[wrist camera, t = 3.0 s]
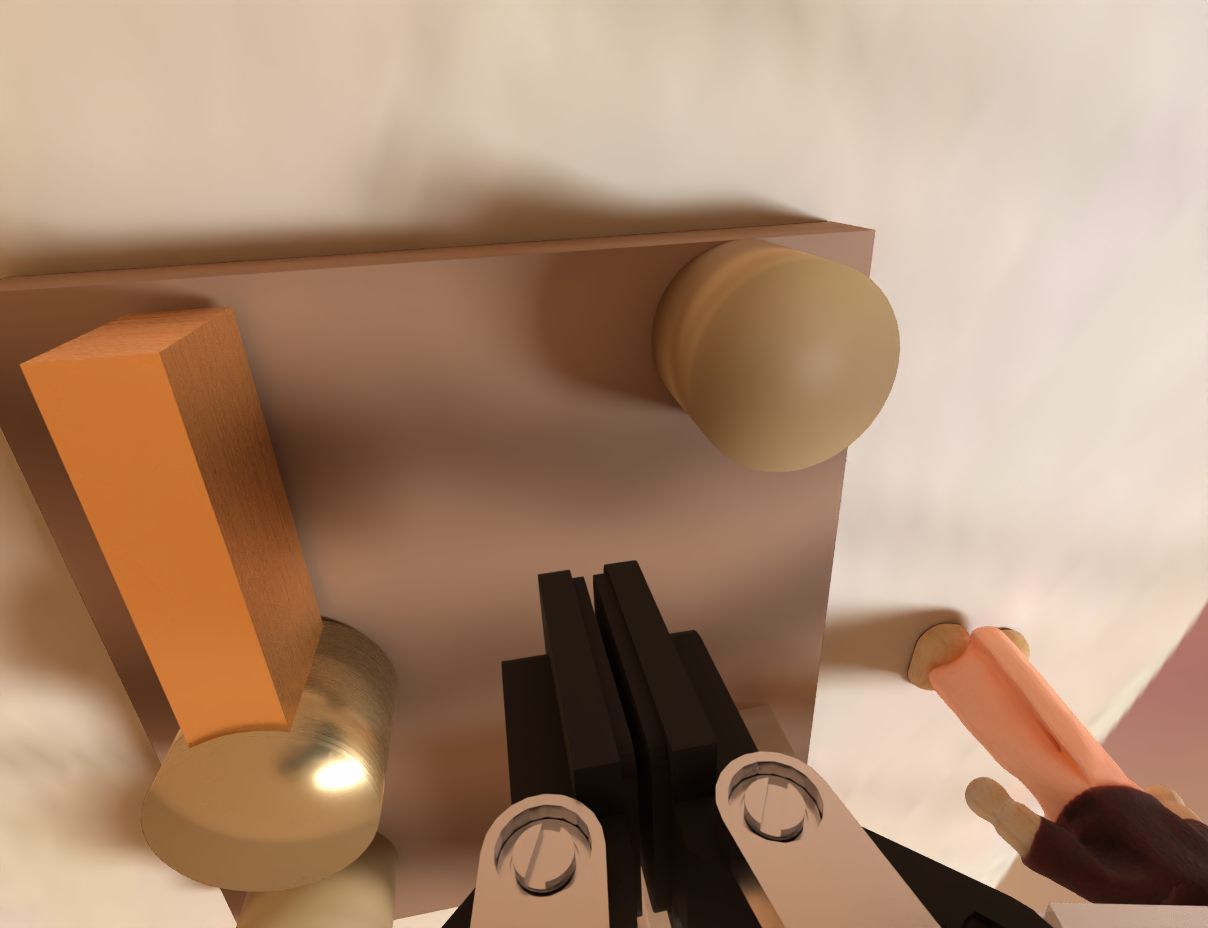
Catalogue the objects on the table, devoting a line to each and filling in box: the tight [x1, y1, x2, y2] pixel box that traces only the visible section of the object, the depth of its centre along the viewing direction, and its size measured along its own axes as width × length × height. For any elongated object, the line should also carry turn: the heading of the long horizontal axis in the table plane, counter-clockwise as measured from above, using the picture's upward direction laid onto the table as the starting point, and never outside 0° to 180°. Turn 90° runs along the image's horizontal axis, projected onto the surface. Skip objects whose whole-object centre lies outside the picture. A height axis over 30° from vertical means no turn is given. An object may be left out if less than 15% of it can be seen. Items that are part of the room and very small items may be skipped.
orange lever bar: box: [20, 306, 398, 892], centre depth 13 cm, size 12×4×4 cm, turn 3°
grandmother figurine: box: [908, 624, 1208, 906], centre depth 18 cm, size 8×4×13 cm, turn 85°
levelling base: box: [0, 221, 900, 928], centre depth 15 cm, size 20×18×10 cm
